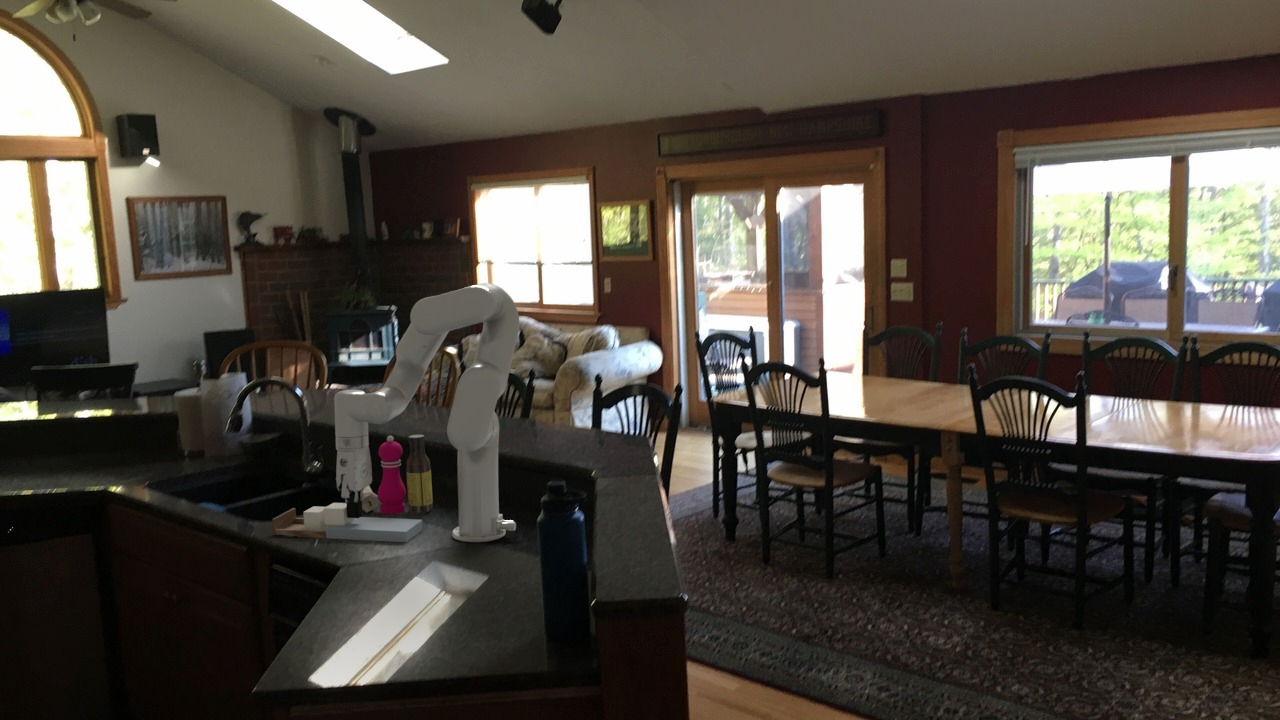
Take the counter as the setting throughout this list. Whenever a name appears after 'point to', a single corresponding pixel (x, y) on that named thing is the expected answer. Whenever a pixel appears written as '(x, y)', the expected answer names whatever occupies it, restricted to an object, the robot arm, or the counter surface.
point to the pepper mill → (391, 479)
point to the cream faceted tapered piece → (369, 499)
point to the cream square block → (314, 519)
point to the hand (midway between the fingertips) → (354, 516)
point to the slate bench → (376, 529)
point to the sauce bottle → (418, 477)
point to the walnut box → (293, 526)
